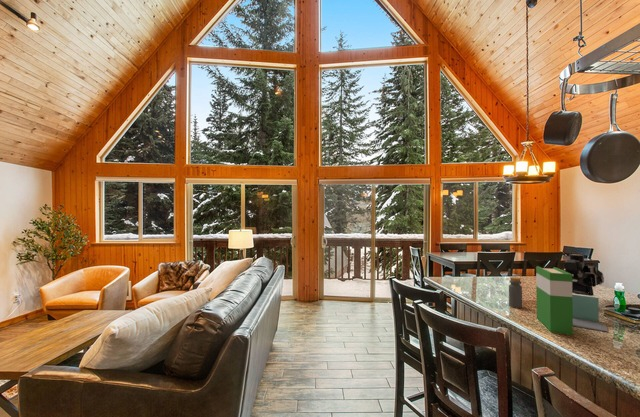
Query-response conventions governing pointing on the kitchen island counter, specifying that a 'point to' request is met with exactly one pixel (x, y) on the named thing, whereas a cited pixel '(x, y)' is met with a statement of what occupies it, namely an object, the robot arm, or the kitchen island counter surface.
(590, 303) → the tile
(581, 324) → the mat
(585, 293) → the robot arm
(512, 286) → the bottle
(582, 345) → the kitchen island counter surface
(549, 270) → the hardback book
